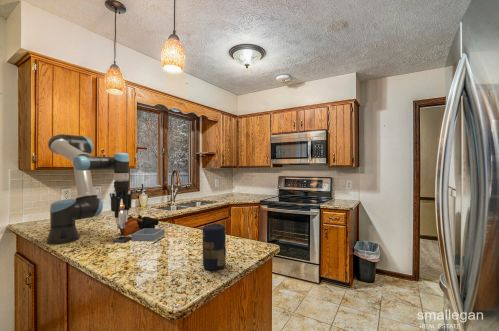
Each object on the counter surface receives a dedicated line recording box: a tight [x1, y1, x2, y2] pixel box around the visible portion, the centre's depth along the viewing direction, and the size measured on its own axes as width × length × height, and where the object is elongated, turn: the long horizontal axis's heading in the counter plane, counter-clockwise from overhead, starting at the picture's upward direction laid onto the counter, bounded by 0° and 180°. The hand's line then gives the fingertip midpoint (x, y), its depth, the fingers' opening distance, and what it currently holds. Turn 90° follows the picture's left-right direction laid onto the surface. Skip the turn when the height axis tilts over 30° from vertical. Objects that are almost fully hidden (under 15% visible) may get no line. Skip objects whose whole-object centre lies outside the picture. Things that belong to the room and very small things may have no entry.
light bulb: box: [116, 203, 125, 230], centre depth 139 cm, size 5×5×13 cm
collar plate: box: [107, 235, 131, 244], centre depth 138 cm, size 10×10×2 cm
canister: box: [202, 223, 227, 271], centre depth 103 cm, size 10×10×18 cm
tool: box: [119, 214, 159, 237], centre depth 157 cm, size 8×23×15 cm, turn 142°
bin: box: [130, 228, 166, 245], centre depth 142 cm, size 13×13×5 cm
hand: (121, 222), depth 139 cm, fingers closed on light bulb, 4 cm apart
